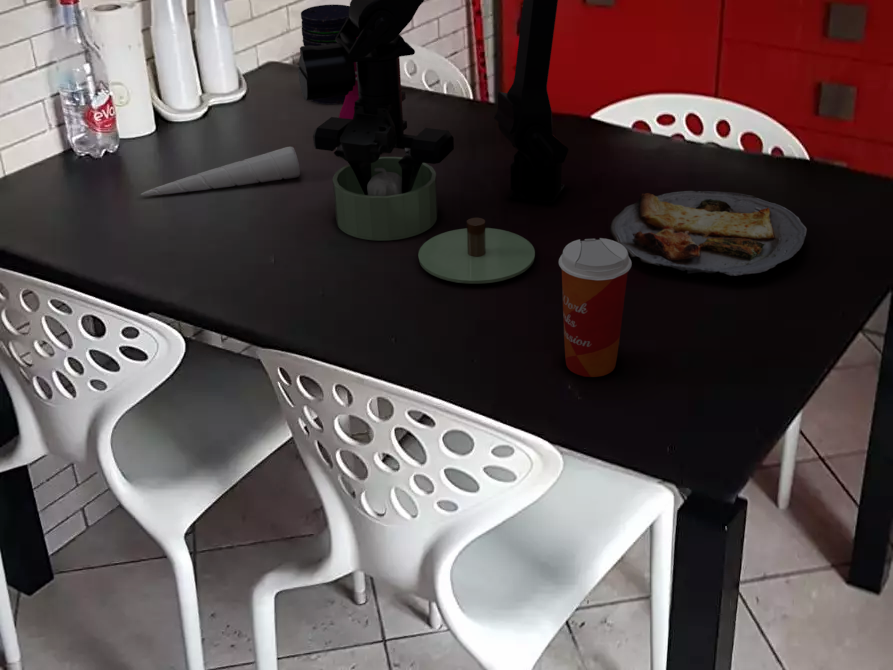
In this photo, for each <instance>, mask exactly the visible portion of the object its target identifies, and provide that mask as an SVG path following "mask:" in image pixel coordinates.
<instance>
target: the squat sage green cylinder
mask: <svg viewBox="0 0 893 670" xmlns="http://www.w3.org/2000/svg"><path fill="white" fill-rule="evenodd" d="M403 157H404V156H403ZM403 157H402V156H380V157H379V159H378V160H377V161H376V162H374V163H371V178H372V177H373V176H374V175H376V174H378V173H382V172H381V171H379V172H375V168H384V169H385V171H386V172H393V173H397V174H398V175H399V176H401V177H402V168H401V167H400V165H399V163H398V162H399V161H400V160H401V159H402V158H403ZM437 179H438V178H437V172H436V170H435V168H434V167H433V166H432V165H430V164H429V163H422V165H421V167H420V169H419V171H418V174H417V177H416V180H415V182H414V185H413V188H412V191H411V192H407V193H403V194H397V195H390V196H369V195H365V194H364V192H363V190H362V188H361V186H360V184H359V182H358V180H357V177H356V175H355V173H354V171H353V170H352V168H351V166H350V165H349V163H347V164H346V165H344V166H342V167H341V168H339V169H338V170H337V171H336V172H335V173H334V175H333V177H332V190H333V201H334V213H335V220H336V221H335V222H336V225H337V227H338V228H339V229H340V231H342V232H343V233H344V234H347V235H348V236H351V237H353V238H357V239H361V240H366V241H368V240H369V241H376V242H377V241H379V242H380V241H384V242H385V241H387V242H388V241H397V240H398V241H399V240H403V239H408V238H412V237H415V236H418V235H421V234H423V233H425V232H426V231H428V230H430V229H431V228H433V226H434V225H435V224H436V223H437V220H438V214H439V213H438V212H439V211H438V210H439V209H438V182H437Z"/></svg>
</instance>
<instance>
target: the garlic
mask: <svg viewBox="0 0 893 670" xmlns="http://www.w3.org/2000/svg"><path fill="white" fill-rule="evenodd" d="M379 171H381V172H382V173H378V174H376V175H374V176H373V177H372V178H371V179H370V181H369V183H368V185H367V191H368V195H369V196H390V195H397V194H402V177H401V176H399V175H398V174H397V173H393V172H386V171H385V169H384V168H375V172H379Z"/></svg>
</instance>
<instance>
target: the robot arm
mask: <svg viewBox="0 0 893 670" xmlns="http://www.w3.org/2000/svg"><path fill="white" fill-rule="evenodd" d="M424 2H425V0H350V3H349V6H350V7H349V16H348V18H347V20H346V21H345V23H344V25H343V26H342V28H341V30H340V31H339V33H338V35H337V36H336V38H335V40H336V42H337V44H329V45H321V46H311V45H308V46H304V45H301V46H300V47H299V52H300V54H299V55H300V56H299V57H298V58H299V59H298V67H297V75H298V82H299V87H300V91H301V94H302V97H303V99H304V101H311V100H314V99H321V98H329V97H336V96H343V95H348V93H349V91H353V86H355V83H356V76H355V68H354V62H356V67H357V81H358V94H359V99H358V100H357V101H355V106H354V116H353V119H345V118H339V117H336V116H331V117H329V118H328V119H327V120H325V121H324V122H323V123H321V124H320V125H319V126H317V127H316V128H315V129H314V131H313V134H312V140H313V147H314V149H315V150H321V151H328V152H333V154H334V156H335V157H339V158H341V159H343V160H344V161H346V162H347V164H349V165H350V166H351V168H352V170H353V171H354V173H355V175H356V177H357V180H358V182H359V184H360V186H361V188H362V190H363V192H364V194H365V195H368V191H367V185H368V183H369V181H370V179H371V163H374V162H376V161H377V160H378V159H379V157H381V155H382V154H383V153H384V154H392V152H393V150H394V149H402V150H404V156H403V158H402V159H401V160H400V161H399V162H398V163H399V165H400V167H401V168H402V194H403V193H407V192H411V191H412V188H413V185H414V182H415V180H416V177H417V174H418V171H419V169H420V167H421V165H422V163H426V164H429V165H430V164H432V165H436V164H441V162H442V161H444V159H446V157H448V156H449V155H450V154H451V153H452V152H453V151H454V148H455V144H454V142H455V141H454V136H453V135H452V133H451V132H450V131H449V130H448V129H439V128H430V127H425V128H424V129H422V131H420V132H419V133H418V134H417V135H416V134H415V135H413V134H405V133H404V131H405V130H406V129H408V120H404V115H403V114H404V113H403V102H404V101H405V100H406V97H407V96H406V91H403V90H402V80H401V64H400V63H401V61H400V57H407V56H408V57H409V56H413V55H415V53H416V50H415V49H414V48H413V47H412V45H410V44H409V43H408V42H407V41H405V38H403V37H402V35H401V33H402V32H403V31H404V29H405V28H407V26H408V25H409V24H410V23H411V22H412V20H413V18H414V17H415V16H416V13H417V12H418V10H419V8H420V7H421V5H422V4H423V3H424ZM558 3H559V0H522V6H521V7H522V9H521V15H520V27H519V36H518V43H517V52H516V61H515V69H514V77H513V82H512V84H511V86H510V87H509V89H508V91H507V92H504V91H503V92H502V91H499V92H498V93H497V110H496V112H495V115H494V117H493V118H494V120H495V121H496V122H497V123H498V129H499V131H500V133H501V134H502V135H503V136H504V137H505V138H506V139H507V140H508V141H509V142H510V143H511V145H512V146H513V148H515V149H516V150H517V151H516V152H515V154H514V155H513V162H512V163H511V164H510V190H511V191H512V192H511V193H510V195H509V199H510V200H513V201H514V200H515V201H520V202H528V203H536V204H543V205H553V204H554V203H555V202H556V201H557V199H558V198H559V197H560V196H561V194H562V193H563V191H564V190H565V188H566V187H565V184H563V183H562V166H563V164H564V163H565V161H566V158H567V155H568V153H569V148H568V147H567V146H566V145H565V144H564V143H563V142H562V141H561V140H559V139H558V138H557V137H556V136H555V135H554V134H553V131H554V129H553V110H552V107H551V106H552V105H551V102H550V97H549V93H548V81H549V74H550V65H551V57H552V52H553V51H552V49H553V43H554V35H555V27H556V21H557V20H556V19H557V11H558ZM357 37H358V38H357Z"/></svg>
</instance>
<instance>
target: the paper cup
mask: <svg viewBox="0 0 893 670" xmlns="http://www.w3.org/2000/svg"><path fill="white" fill-rule="evenodd" d="M628 252H629V251H627V250H626V248H625V247H624V246H623V245H622V244H620V243H618V242H616V241H615V240H613V239H609V238H603V237H599V239H596V238H585V239H584V240H581V239H576V240H573V241H571V242H569V243H567V244H566V245H565V247H564V248H563V250H562V253H561V255H560V257H559V258H558V266H559V267H560V269H561V286H562V289H561V290H562V314H563V339H564V340H563V341H564V356H565V357H564V358H565V365H566V368H567V369H568V370H569V371H570V372H571V373H573V374H574V375H578V376H581V377H585V378H598V377H599V378H600V377H604V376H606V375H608V374H610V373H612V372H613V371H614V370H615V368H616V364H617V361H618V353H619V347H620V346H619V345H620V338H621V330H622V322H623V315H624V308H625V307H624V306H625V298H626V289H627V281H628V275H629V274H628V273H629V271H630V270H631V268H632V265H633V264H632V263H633V262H632V260H631V257H630V255H629V253H628Z"/></svg>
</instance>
